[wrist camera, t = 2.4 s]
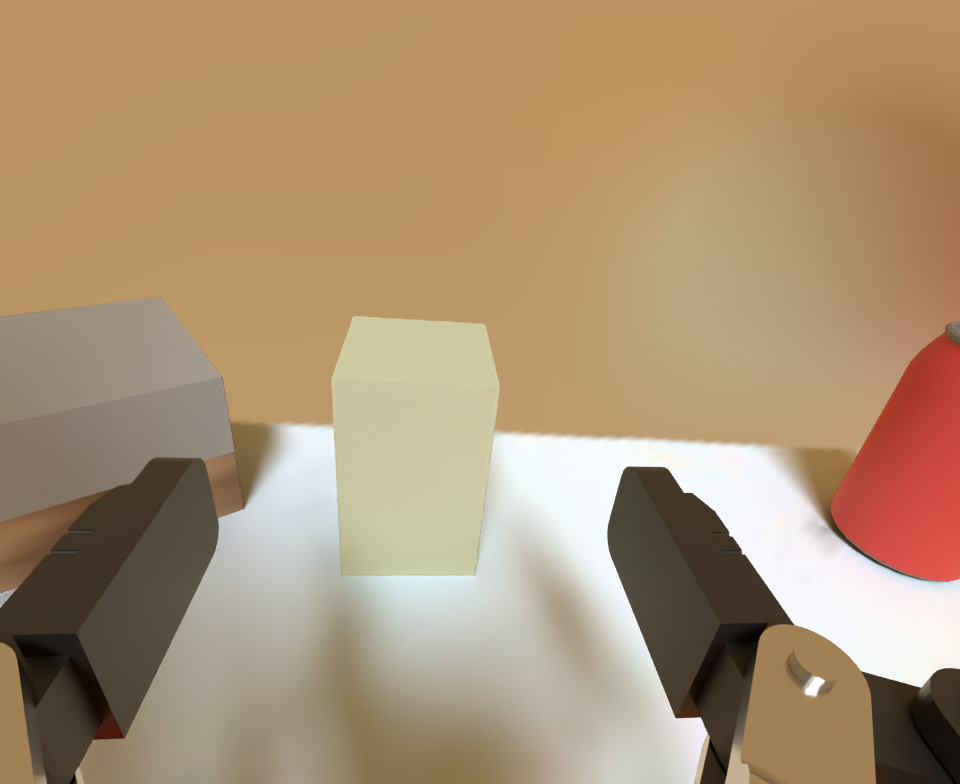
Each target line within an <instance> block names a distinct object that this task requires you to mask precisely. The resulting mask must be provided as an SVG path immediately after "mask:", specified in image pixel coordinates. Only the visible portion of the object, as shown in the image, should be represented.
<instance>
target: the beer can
mask: <svg viewBox="0 0 960 784" xmlns="http://www.w3.org/2000/svg"><path fill="white" fill-rule="evenodd" d="M945 330H946V331H945V332H944V333H943V334H942V335H940V336H939V337H938V338H936V339H935V340H934V341H932V342H931V343H930V344H929V345H927V346H926V347H925V348H923V349H922V350H921V351H920V352H919V353H918V354H917V355H916V356H915V358H914V359H913V360H912V361H911V362H910V364H909V365H908V367H907V369H906V371H905V373H904V374H903V376H902V378H901V380H900V381H899V383H898V385H897V387H896V389H895V390H894V392H893V394H892V395H891V397H890V399H889V401H888V402H887V404H886V406H885V408H884V409H883V411H882V413H881V415H880V416H879V418H878V420H877V422H876V423H875V425H874V427H873V429H872V431H871V432H870V434H869V436H868V437H867V439H866V441H865V443H864V444H863V446H862V448H861V450H860V451H859V453H858V455H857V457H856V458H855V460H854V462H853V464H852V465H851V467H850V469H849V471H848V473H847V474H846V476H845V478H844V480H843V481H842V483H841V485H840V487H839V488H838V490H837V492H836V494H835V495H834V497H833V499H832V503H831V507H830V511H831V514H832V516H833V519H834V522H835V524H836V526H837V527H838V529H839V530H840V531H841V532H842V533H843V535H844V536H845V537H846V538H847V539H848V540H849V541H850V542H851V543H852V544H853V545H855V546H856V547H857V548H858V549H859V550H861V551H862V552H863V553H864V554H866V555H868V556H869V557H871V558H873V559H874V560H876V561H877V562H879V563H881V564H883V565H885V566H887V567H889V568H891V569H894V570H896V571H898V572H900V573H903V574H906V575H910V576H913V577H917V578H920V579H924V580H931V581H942V582H949V581H953V580H957V579H960V321H956V322H952V323H950V324H948V325H946V327H945Z"/></svg>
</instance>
